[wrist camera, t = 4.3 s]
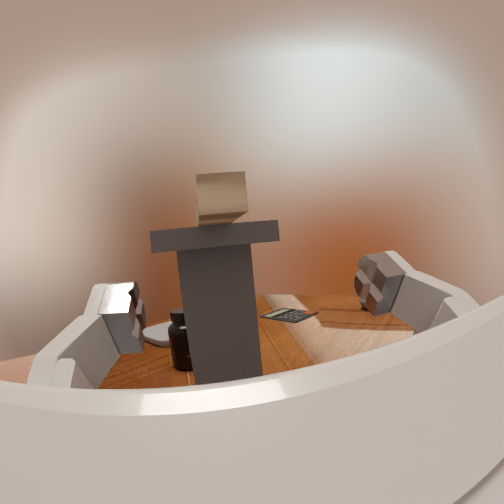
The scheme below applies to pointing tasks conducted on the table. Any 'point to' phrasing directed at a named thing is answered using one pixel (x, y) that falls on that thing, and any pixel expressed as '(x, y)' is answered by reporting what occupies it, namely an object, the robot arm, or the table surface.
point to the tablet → (158, 334)
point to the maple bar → (220, 198)
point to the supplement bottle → (179, 341)
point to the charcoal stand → (219, 295)
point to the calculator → (289, 315)
